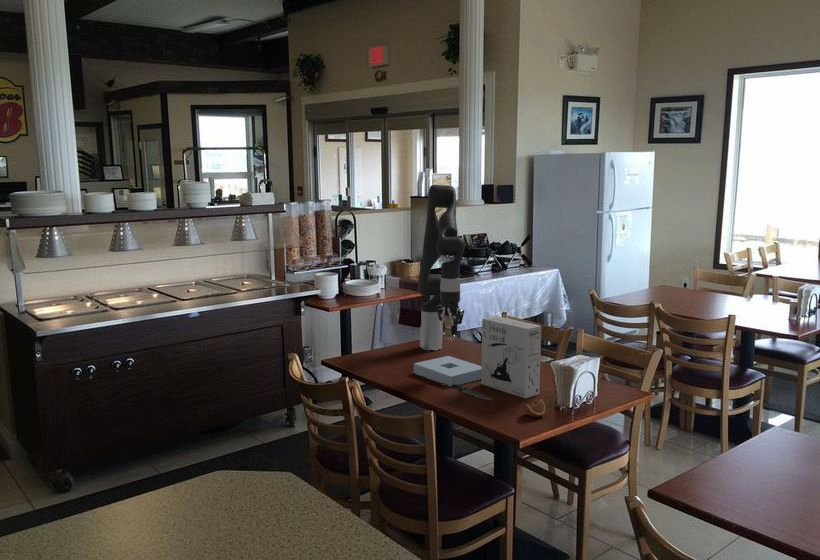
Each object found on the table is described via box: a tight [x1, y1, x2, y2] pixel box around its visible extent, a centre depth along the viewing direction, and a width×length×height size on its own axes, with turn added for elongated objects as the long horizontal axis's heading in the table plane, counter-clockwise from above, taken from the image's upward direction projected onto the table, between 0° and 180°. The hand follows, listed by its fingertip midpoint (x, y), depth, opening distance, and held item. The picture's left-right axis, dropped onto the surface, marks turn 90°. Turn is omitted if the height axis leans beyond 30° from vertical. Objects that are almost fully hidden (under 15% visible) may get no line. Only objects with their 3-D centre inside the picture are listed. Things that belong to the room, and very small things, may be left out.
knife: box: [442, 383, 495, 401], centre depth 249 cm, size 26×1×5 cm
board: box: [413, 355, 481, 387], centre depth 268 cm, size 22×18×4 cm
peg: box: [444, 315, 455, 341], centre depth 266 cm, size 4×4×9 cm
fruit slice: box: [521, 398, 547, 418], centre depth 224 cm, size 8×7×5 cm
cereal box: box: [480, 315, 542, 399], centre depth 250 cm, size 22×8×25 cm, turn 40°
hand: (449, 333), depth 266 cm, fingers closed on peg, 4 cm apart
